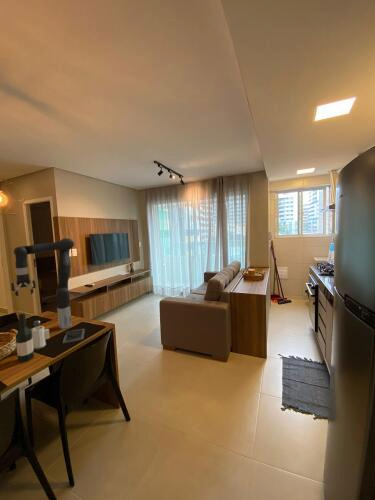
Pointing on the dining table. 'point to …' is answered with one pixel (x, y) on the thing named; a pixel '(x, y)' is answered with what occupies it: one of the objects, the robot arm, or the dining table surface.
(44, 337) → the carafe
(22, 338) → the wine bottle
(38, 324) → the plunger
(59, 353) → the dining table surface
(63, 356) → the dining table surface
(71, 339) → the picture frame
